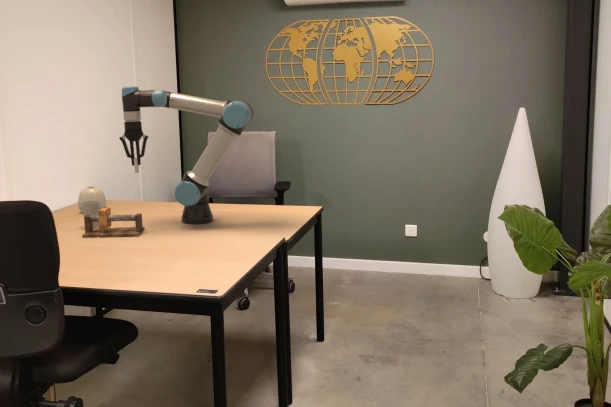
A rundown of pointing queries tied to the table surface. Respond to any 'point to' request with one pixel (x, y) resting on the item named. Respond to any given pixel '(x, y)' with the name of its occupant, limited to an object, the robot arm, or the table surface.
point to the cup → (91, 209)
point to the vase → (92, 196)
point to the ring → (104, 218)
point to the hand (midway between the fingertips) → (137, 172)
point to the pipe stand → (113, 232)
